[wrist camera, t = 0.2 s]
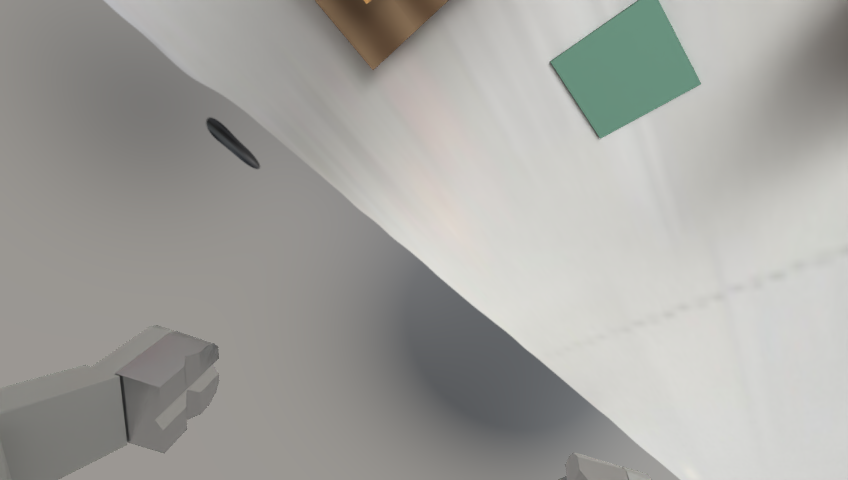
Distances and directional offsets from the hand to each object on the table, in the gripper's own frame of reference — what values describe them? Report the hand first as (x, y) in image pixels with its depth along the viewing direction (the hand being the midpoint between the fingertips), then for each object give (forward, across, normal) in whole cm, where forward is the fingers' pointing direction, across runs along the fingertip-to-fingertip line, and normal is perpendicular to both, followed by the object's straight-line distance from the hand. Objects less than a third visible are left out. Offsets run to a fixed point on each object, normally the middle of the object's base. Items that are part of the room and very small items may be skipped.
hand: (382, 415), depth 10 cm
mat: (+51, -13, -10) cm, 53 cm away
